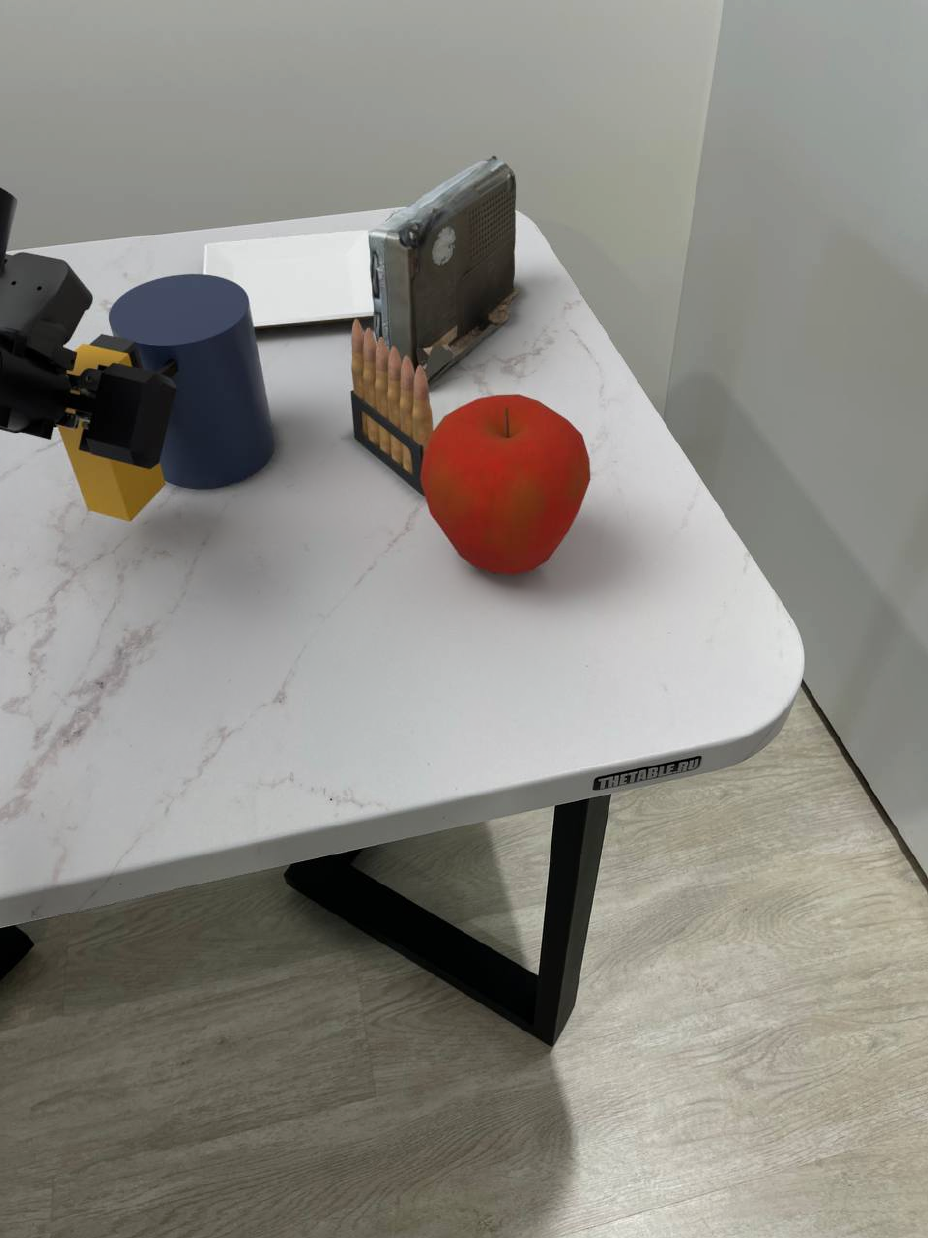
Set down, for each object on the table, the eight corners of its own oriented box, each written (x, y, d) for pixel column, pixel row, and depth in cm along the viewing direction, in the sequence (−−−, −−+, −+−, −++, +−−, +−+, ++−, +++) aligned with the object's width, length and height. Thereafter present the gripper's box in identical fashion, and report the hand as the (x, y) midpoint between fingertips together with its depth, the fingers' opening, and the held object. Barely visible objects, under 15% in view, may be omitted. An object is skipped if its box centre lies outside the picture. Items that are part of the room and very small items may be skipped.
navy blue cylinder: (215, 525, 84) (178, 380, 74) (103, 495, 87) (53, 351, 76) (296, 428, 93) (273, 286, 83) (193, 403, 96) (159, 264, 85)
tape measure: (130, 522, 78) (87, 390, 70) (87, 510, 80) (39, 378, 71) (177, 472, 83) (141, 342, 74) (135, 462, 84) (95, 332, 75)
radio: (486, 271, 112) (486, 132, 101) (552, 293, 109) (559, 151, 98) (350, 368, 99) (334, 220, 89) (420, 396, 96) (412, 246, 85)
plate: (388, 330, 104) (386, 311, 103) (204, 347, 102) (200, 329, 101) (371, 245, 117) (370, 227, 115) (207, 259, 115) (204, 241, 114)
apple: (401, 582, 79) (388, 434, 69) (464, 491, 86) (461, 345, 76) (549, 629, 75) (560, 480, 65) (602, 530, 83) (618, 382, 72)
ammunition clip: (441, 487, 87) (436, 366, 78) (424, 496, 86) (417, 374, 77) (370, 429, 92) (358, 310, 84) (353, 437, 92) (340, 317, 83)
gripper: (122, 262, 59) (249, 337, 74) (-128, 213, 64) (39, 293, 79) (78, 450, 59) (213, 486, 74) (-166, 387, 64) (7, 433, 79)
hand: (116, 419), depth 77 cm, fingers closed on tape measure, 4 cm apart
